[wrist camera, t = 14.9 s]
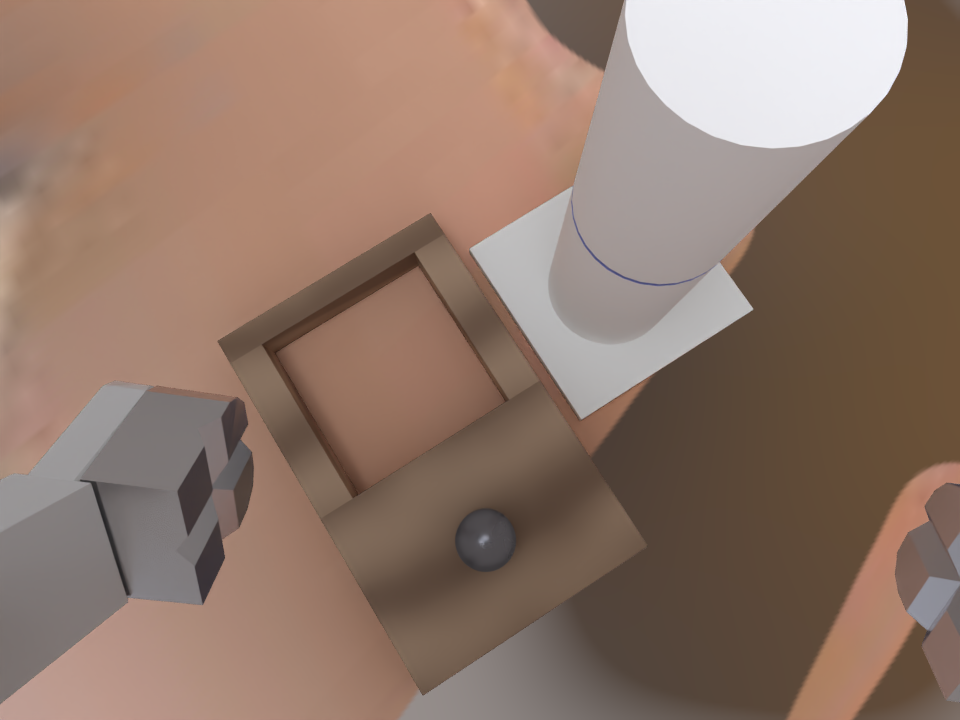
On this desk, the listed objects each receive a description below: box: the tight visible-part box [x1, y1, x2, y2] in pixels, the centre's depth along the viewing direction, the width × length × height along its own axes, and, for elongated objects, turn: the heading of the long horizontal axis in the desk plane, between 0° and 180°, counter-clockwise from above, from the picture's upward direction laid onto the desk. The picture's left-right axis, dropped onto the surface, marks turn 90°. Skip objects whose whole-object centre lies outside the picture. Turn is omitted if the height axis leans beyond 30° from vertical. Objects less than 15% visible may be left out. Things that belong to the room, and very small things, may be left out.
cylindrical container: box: [548, 0, 908, 345], centre depth 31 cm, size 7×7×25 cm
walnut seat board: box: [218, 213, 648, 695], centre depth 40 cm, size 22×14×6 cm, turn 32°
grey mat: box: [469, 186, 753, 421], centre depth 44 cm, size 12×12×1 cm
